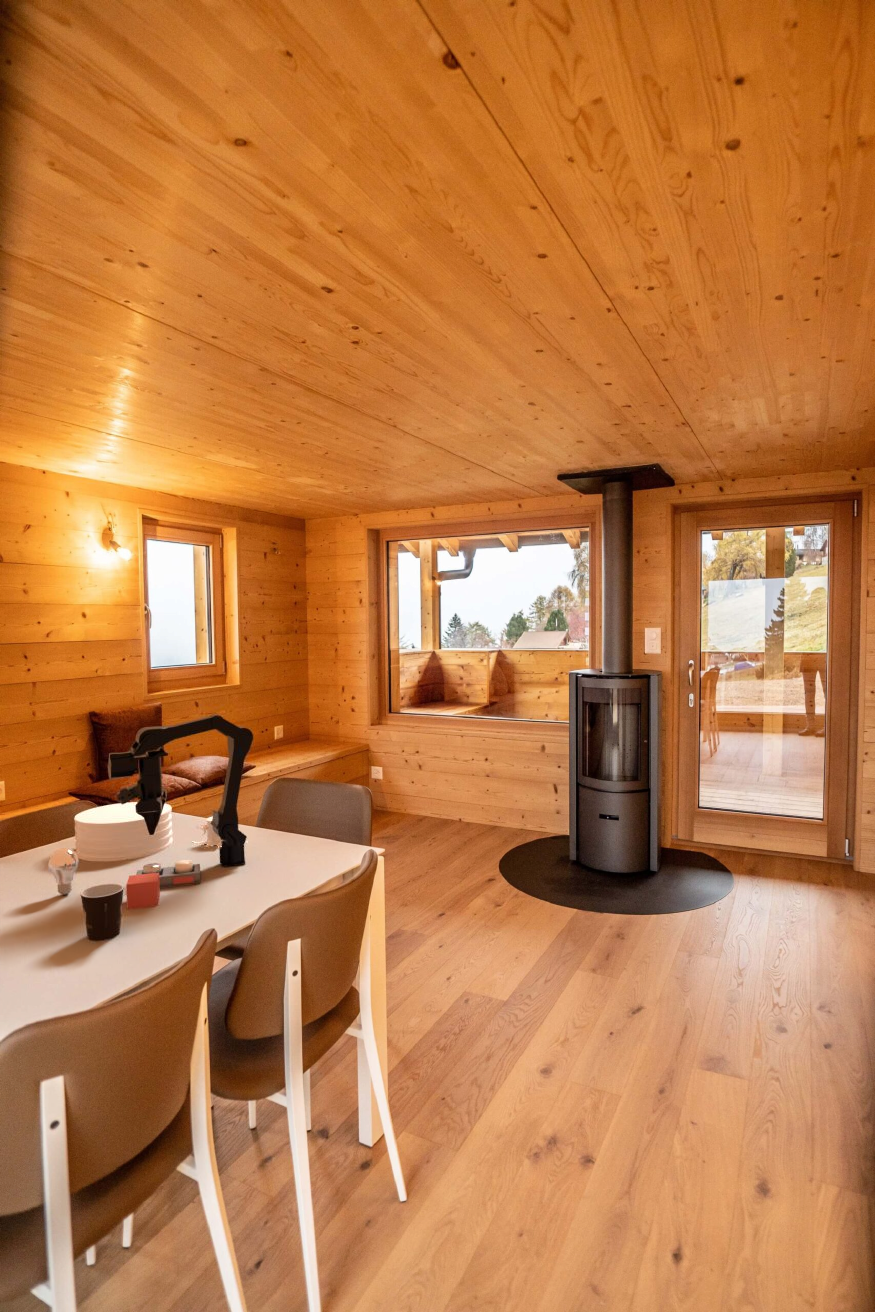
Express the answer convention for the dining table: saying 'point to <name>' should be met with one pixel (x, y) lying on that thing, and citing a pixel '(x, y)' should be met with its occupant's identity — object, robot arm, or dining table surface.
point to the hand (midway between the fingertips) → (153, 830)
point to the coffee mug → (102, 911)
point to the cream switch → (183, 866)
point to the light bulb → (64, 868)
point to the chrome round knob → (152, 868)
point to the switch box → (177, 877)
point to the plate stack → (120, 833)
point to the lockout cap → (143, 890)
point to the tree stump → (210, 834)
